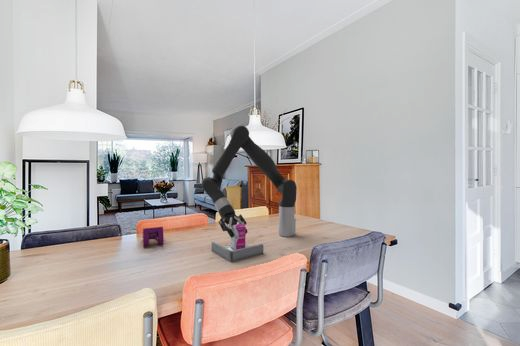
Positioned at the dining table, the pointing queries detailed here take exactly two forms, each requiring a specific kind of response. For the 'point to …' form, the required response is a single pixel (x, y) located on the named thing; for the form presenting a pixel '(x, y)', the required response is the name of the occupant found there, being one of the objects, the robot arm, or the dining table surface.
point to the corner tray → (236, 251)
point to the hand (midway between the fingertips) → (239, 234)
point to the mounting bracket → (153, 235)
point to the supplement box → (238, 236)
